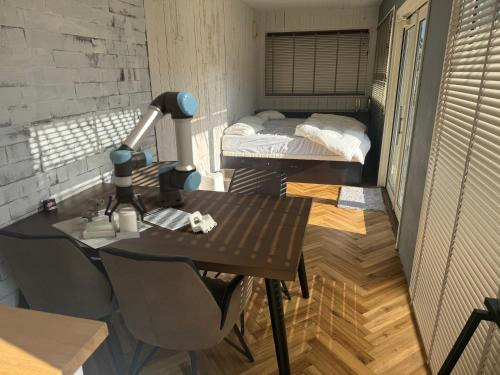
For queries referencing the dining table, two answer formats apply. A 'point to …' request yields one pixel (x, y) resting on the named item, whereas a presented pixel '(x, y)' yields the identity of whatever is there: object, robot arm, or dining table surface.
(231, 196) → the dining table surface
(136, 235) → the tensioner cradle
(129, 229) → the white jar
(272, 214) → the dining table surface
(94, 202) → the mechanical component
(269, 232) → the dining table surface
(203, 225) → the mounting bracket
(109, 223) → the parts tray
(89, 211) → the idler pulley
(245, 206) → the dining table surface
